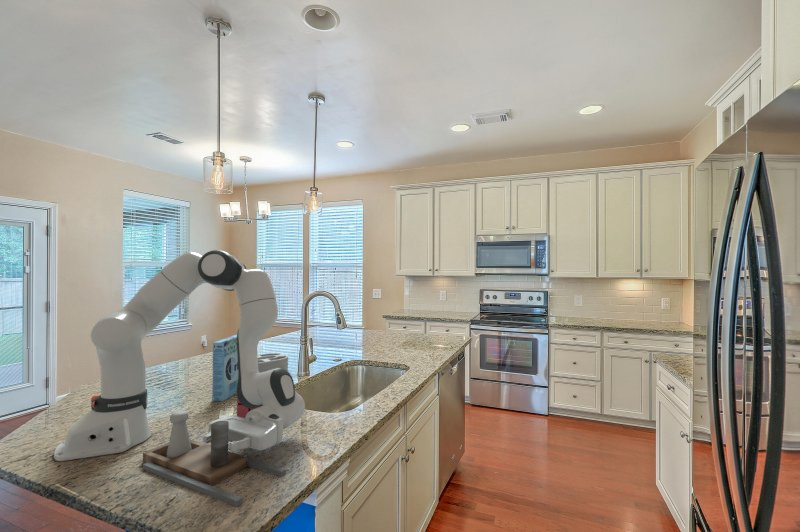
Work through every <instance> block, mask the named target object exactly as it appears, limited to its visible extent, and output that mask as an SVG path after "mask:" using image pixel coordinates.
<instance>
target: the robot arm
mask: <svg viewBox="0 0 800 532" xmlns="http://www.w3.org/2000/svg"><path fill="white" fill-rule="evenodd" d="M206 283H207V284H210V285H211V286H213V287H214V288H217V289H221V290H225V291H229V292H233V291H235V293H236V296H237V299H238V300H237V301H238V306H239V312H240V321H239V327H238V329H237V332H236V333H237V334H236V335H237V356H238V384H237V392H236V398H237V397H238V399H239V401H240V403H241V404H242V405H243V406H244V407H246V408H256V407H258V408H256V409H253V410H251V411H249V412H248V413H247V414H246V416H245V418H242V417H238V416H237V415H226V416H224V417H220V418H218V419H214V420H212V421H210V422H209V424H208V433H206V434H205V435H203V436H202V443H204V444H210V443H211V424H212V423H214V422H217V421H228V422H229V433H228V451H230V452H233V453H235V452H236V451H238V450H243V449H247V448H250V449H253V450H256V451H263V450H264V451H265V450H267V449H269V448H270V447H273V446H274V445H276V444H279V443H281V442H283V437H284V436H283V435H284V430H286V429H287V428H289V427H291V426H292V425H294V424H296V422H298V421H299V420H300V419H301V418H302V417H303V415H304V412H305V409H306V403H305V400H304V397H302V395H300V394H299V393H298V392H297V391H296V388H295V382H294V380H293V379H294V378H293V376H292V375H291V373H290V372H289V370H288V371H287V370H285V369H283V368H276V369H272V370H268V371H265V372H262V373H259V370H258V355H259V354H258V345H259V343H260V340H261V339H262V337H263V336H264V335H265V334H266V333H267V332H269V330H271V328H272V327H273V326H274V325H275V324H276V322H277V320H278V317H279V314H278V313H279V308H278V303H277V299H276V294H275V290H274V287H273V283H272V282H271V279H270V276H269V275H268V273H267V272H266V271H265V270H263V269H260V268H252V269H247V266H245V264H244V263H243V262H242V261H241V260H240V259H239V258H237V256H234V255H231V254H230V253H229V252H227V251H224V250H218V249H213V250H209V251H207V252H205V253H204V254H200V253H198V252H194V251H188V252H184V253H182V254H180V255H179V256H177V257H175V259H174V260H172V261H170V262H169V263H168V264H166V265H165V266H164V267H162V269H161V270H159V271H158V272H157V273H155V275H154V276H152V278H150V279H149V280H148V281H147V282H146V283H145V284H144V285H143V286H141V287H140V288H139V290H138V292H136V294H134V295H133V297H132V298H131V299H130V300H129V301H128V302H127V303H125V305H124V306H123V307H122V308H121V309H120V310H117V311H116V312H113V313H109V314H107V315H104V316H102V318H100V319H99V320H98V321H97V323H95V325H94V326H92V330H91V332H90V338H91V343H92V344H93V345H94V346H95V350H96V354H97V358H98V363H99V367H100V369H99V370H100V395H99V394H93V395H92V396H91V398H90V401H91V403H90V406H91V407H90V408H91V410H90V411H89V412H87V413H86V414H84V415H83V416H82V417H81V418H79V419H78V420H76V421H75V422H74V423H72V425H71V426H70V427H69V428H68V430H67V433H66V436H65V438H64V440H63V441H62V442H60V443H59V444H58V445H57V446H56V448H55V449H54V452H53V458H54V460H55V461H58V462H64V461H70V460H77V459H84V458H92V457H97V456H105V455H112V454H119V453H124V452H126V451H127V450H130V449H131V448H132V447H135V446H137V445H139V444H141V443H143V442H145V441H147V440H148V439H149V438H150V437H151V436H152V432H151V429H150V425H149V421H148V413H147V407H148V402H149V401H148V400H149V397H148V389H147V388H146V386H147V385H146V383H147V381H146V379H147V365H146V362H145V359H144V354H143V349H142V341H143V340H144V339H145V338H147V337H148V336H149V334H151V333H152V332H153V331H154V330H155V328H157V327H158V326H159V325H160V324H161V323H162V322H163V320H165V319H166V318H167V316H168V315H170V314H171V313H172V311H173V310H175V309H176V308H177V307H178V306H179V305H180V304H181V303H182V302H183V301H184V300H185V299H187V298H188V296H190V295H191V294H192V293H193V292H194V291H195V290H196V289H197V288H198V287H199V286H201V285H203V284H206ZM261 405H263V406H261ZM259 406H261V407H259Z"/></svg>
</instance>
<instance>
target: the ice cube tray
mask: <svg viewBox="0 0 800 532" xmlns="http://www.w3.org/2000/svg"><path fill="white" fill-rule="evenodd" d="M257 355H258V370H259V373H262V372H265V371H268V370H272V369H276V368H283V369H285V370H287V371H288V372H289V354H286V353H280V352H279V353H278V352H269V353H261V354H257Z"/></svg>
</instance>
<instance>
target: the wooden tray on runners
mask: <svg viewBox="0 0 800 532" xmlns="http://www.w3.org/2000/svg"><path fill="white" fill-rule="evenodd" d="M228 433H229V422H228V421H217V422H214V423H212V424H211V442H210V444H208V443H204V442H201V441H198V442H197V440H194V439H190V443H191V448H192V450H190V451H188V452H186V453H184V454H182V455H179V456H177V457H175V458H173V459H169V458H168V457H166V456H167V449H168V445H169V441H168V442H167V443H164V444H161V445H159V446H157V447H154V448H150V449H149V450H147V451H144V452H142V463H143V464H145V463H147V462H151V463H153V464H156V465H159V466H161V467H164V468H167V469H169V470H172V471H174V472H177V473H180V474H182V475H185V476H188V477H190V478H193V479H195V480H198V481H201V482H203V483H206V484H209V485H211V486H214V487H215V486H216V485H217V484H219V483H221V482H222V481H225V480H226V479H228V478H230V477H232V476H233V475H235V474H236V473H239V472H240V471H242V470H243V469H245V468H247V467H248V466H247V457H248V456H246V457H245V455H243V454H239V453H236V452H233V451H230V450H229V449H228V448H229V441H228ZM200 442H201V443H200ZM207 444H208V445H207ZM210 445H211V446H210ZM229 451H230V452H229ZM232 452H233V453H232ZM235 453H236V454H235ZM242 455H243V456H242Z"/></svg>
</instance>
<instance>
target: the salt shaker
mask: <svg viewBox="0 0 800 532" xmlns="http://www.w3.org/2000/svg"><path fill="white" fill-rule="evenodd" d="M169 420H170V423H171V424H172V427H171V430H170V435H169V436H170V437H169V440H168V442H169V445H168V449H167V455H166V456H167V457H166V458H169V459H173V458H175V457H177V456H179V455H182V454H184V453H186V452H188V451H190V450H192V448H191V443H190V434H189V429H188V425H187V421H188V420H189V412H188V411H186V410H175V411H174V412H172V414H171V415H170V416H169Z"/></svg>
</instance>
